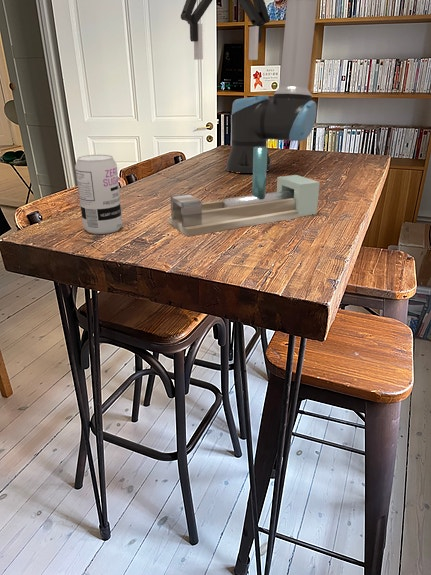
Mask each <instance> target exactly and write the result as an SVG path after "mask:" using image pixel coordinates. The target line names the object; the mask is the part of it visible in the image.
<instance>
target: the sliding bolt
mask: <svg viewBox="0 0 431 575" xmlns="http://www.w3.org/2000/svg"><path fill="white" fill-rule="evenodd" d="M267 151H268V147H261V146H259V147H254V150H253V174H252V182H251V184H252V187H251V188H252V190H251V194H252V195H243V196H237V197H235V196H234V197H230V198H224V199H223V202H222V208H227V207H234V206H241V205H248V204H255V203H262V202H268V201H275V200H282V199H289V198H293V199H294V190H286V191H279V192H277V191H272V192H267V193H266V189H267V188H266V186H267V172H266V170H267Z"/></svg>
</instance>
